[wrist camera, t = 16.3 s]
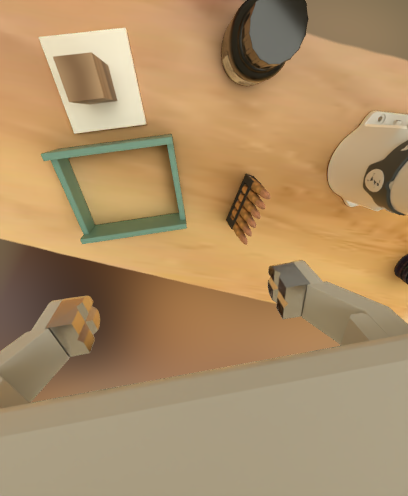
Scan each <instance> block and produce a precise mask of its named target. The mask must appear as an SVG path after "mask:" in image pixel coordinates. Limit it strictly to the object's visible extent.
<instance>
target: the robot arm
mask: <svg viewBox="0 0 408 496" xmlns="http://www.w3.org/2000/svg"><path fill="white" fill-rule="evenodd" d="M378 118H379V120H378ZM328 183H329V185H330V187H331V189H332V190H333V191H334V192H335V193H336V194H337V195H339V196H341V197H342V198H343V200H344V202H345V204H346V205H347V206H349V207H355V206H358V205H360V206H363V207H366V208H368V209H371V210H374V211H379V210H382V209H385V210H387V211H389V212H391V213H396V214H399V215H407V216H408V114H399V113H391V112H382V111H372V112H370V113H369V114H368V115H367V116H366V117H365V119H364V120H363V121H362V123H361V124H360V125H359V127H358V128H357V129H355V130H354V131H353V132H352V133H350V134H349V135H348V136H347V137H346V138H345V139H344V140H343V141H342V142H341V143H340V144H339V146H338V147H337V148H336V150H335V152H334V153H333V155H332V158H331V160H330V163H329V167H328ZM268 273H269V275H270V279H269V280H268V290H269V294H270V296H271V298H272V300H273V301H275V302H276V303H277V309H278V311H279V313H280V315H281V317H282V318H283V319H286V318H292V317H299V316H302V318H304V319H305V320H306V321H308V322H309V323H311V324H312V325H314V326H315V327H316V328H318V329H319V330H321V331H322V332H324V333H325V334H327V335H328V336H329V337H331V338H332V339H333V340H335V341H336V342H338V343H339V344H340V346H338V347H332V348H327V349H322V350H316V351H310V352H305V353H300V354H294V355H288V356H283V357H277V358H272V359H267V360H261V361H256V362H251V363H245V364H239V365H235V366H229V367H223V368H218V369H212V370H207V371H201V372H197V373H191V374H185V375H180V376H175V377H169V378H163V379H158V380H152V381H147V382H141V383H136V384H130V385H125V386H119V387H114V388H108V389H103V390H98V391H92V392H87V393H82V394H76V395H70V396H65V397H59V398H54V399H49V400H43V401H38V402H32V403H31V401H32V400H33V399H34V398H35V397H36V396H37V395H38V394H39V392H40V391H41V390H42V389H43V388H44V387H45V386H46V384H47V383H48V382H49V381H50V380H51V379H52V378H53V376H54V375H55V374H56V373H57V372H58V371H59V370H60V368H61V367H62V366H63V365H64V364H65V363H66V362H67V360H68V359H69V357H72V356H77V355H82V354H87V353H90V352H91V349H92V346H93V343H94V340H95V338H94V336H93V334H95V333H96V331H97V330H98V329H99V325H100V316H99V312H98V310H97V309H96V308H94V307H92V304H93V301H92V299H91V297H90V296H82V297H75V298H68V299H61V300H55V301H52V302H50V303H49V304H48V306H47V307H46V309H45V310H44V312H43V314H42V315H41V316H40V318H39V320H38V321H37V323H36V324H35V326H34V327H33V329H32V330H31V331H30V332H26V333H25V334H23V335H22V336H21V337H19V338H18V339H17V340H16V341H14V342H13V343H11V344H10V345H8V346H7V347H6V348H4V349H3V350H2V351H0V496H408V324H407V323H406V322H405V321H404V320H403V319H402V318H400V317H399V316H398V315H397V314H396V313H395V312H394V311H393V310H391V309H390V308H389V307H387V306H385V305H382V304H380V303H378V302H375V301H373V300H370V299H368V298H365V297H363V296H361V295H358V294H356V293H353V292H351V291H349V290H346V289H344V288H341V287H339V286H336V285H334V284H332V283H329V282H327V281H326V282H323V281H322V280H321V279H320V278H319V277H318V276H317V275H316V273H315V272H314V271H313V270H312V269H311V268H310V267H309V266H308V265H307V264H306V262H305V261H303V260H299V261H294V262H290V263H284V264H278V265H272V266H270V267H269V272H268Z"/></svg>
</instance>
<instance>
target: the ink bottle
mask: <svg viewBox="0 0 408 496" xmlns="http://www.w3.org/2000/svg"><path fill="white" fill-rule="evenodd" d="M306 6H307V4H306V1H305V0H247V1H245V2H244V3H243V4H242V5H241V7H240V8H239V9H238V11H237V12H236V14H235V16H234V17H233V19H232V20H231V22H230V24H229V25H228V27H227V29H226V31H225V34H224V37H223V41H222V48H221V57H222V63H223V67H224V70H225V72H226V74H227V75H228V77H229V78H230V79H231V80H232V81H234V82H235V83H237V84H239V85H243V86H251V85H255V84H257V83H260V82H263V81H265V80H268V79H270V78H272V77H273V76H274V75H276V74H277V73H278V72H279V71H280V70H281V68H282V67H283V66H284V64H285V62H286V61H288V60H290V59H291V57H292V56H293V55H294V54H295V53H296V52H297V51H298V50H299V48H300V45H301V43H302V41H303V39H304V37H305V35H306V27H307V22H308V15H307V7H306Z"/></svg>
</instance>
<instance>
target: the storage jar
mask: <svg viewBox="0 0 408 496" xmlns="http://www.w3.org/2000/svg"><path fill="white" fill-rule="evenodd" d="M394 272H395V275H396V276H398V277H399V278H401V279H402V280H403V281H404V282H405V283H407V284H408V254H407V255H405V256H404V257H403V258H402V259H401V260H400V261H399V262H398V263H397V265H396V267H395V270H394Z"/></svg>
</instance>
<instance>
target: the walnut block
mask: <svg viewBox="0 0 408 496" xmlns="http://www.w3.org/2000/svg"><path fill="white" fill-rule="evenodd" d="M53 59H54V61H55V64H56V67H57V70H58V73H59V75H60V78H61V81H62V84H63V87H64V89H65V92H66V95H67V98H68V101H69V102H72V103H81V104H97V103H106V102H114V101H117V97H116V93H115V89H114V86H113V82H112V78H111V74H110V70H109V66H108V65H107V64H106V63H105V62H103V61H102V60H101V59H99V58H98V57H97V56H96V55H94V54H93V53H92V52H90V53H81V54H72V55H63V56H54V57H53Z"/></svg>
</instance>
